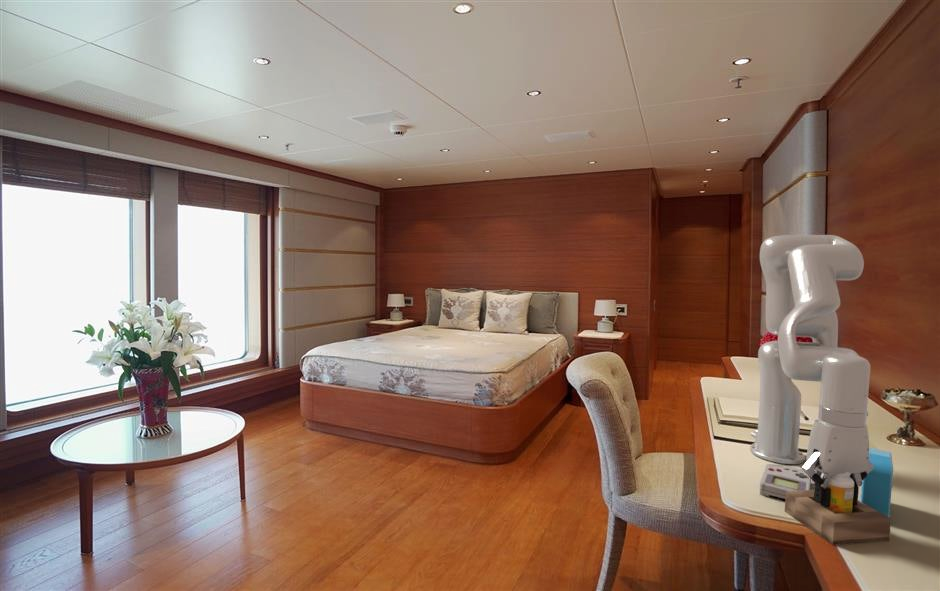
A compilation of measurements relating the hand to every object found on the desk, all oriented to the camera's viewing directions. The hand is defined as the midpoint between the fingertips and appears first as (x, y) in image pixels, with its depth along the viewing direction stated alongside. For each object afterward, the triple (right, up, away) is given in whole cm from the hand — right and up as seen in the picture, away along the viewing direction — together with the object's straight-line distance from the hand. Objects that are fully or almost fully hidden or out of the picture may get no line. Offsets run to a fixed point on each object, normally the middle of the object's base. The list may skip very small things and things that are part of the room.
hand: (835, 502), depth 98 cm
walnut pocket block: (0, -5, 0) cm, 5 cm away
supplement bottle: (0, -2, 0) cm, 2 cm away
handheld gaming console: (0, -4, +16) cm, 16 cm away
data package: (+13, -5, +6) cm, 16 cm away
